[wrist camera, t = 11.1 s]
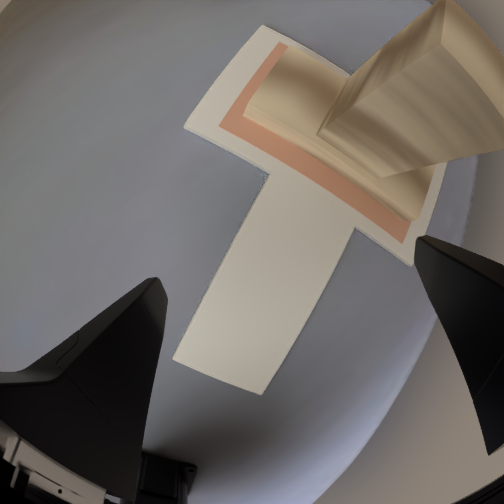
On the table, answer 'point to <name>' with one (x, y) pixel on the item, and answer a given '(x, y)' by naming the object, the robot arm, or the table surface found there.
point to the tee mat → (278, 231)
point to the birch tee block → (393, 107)
